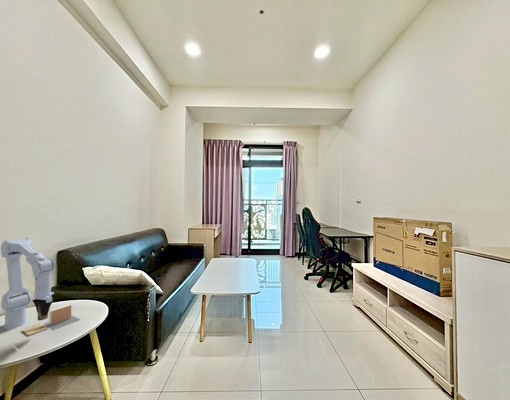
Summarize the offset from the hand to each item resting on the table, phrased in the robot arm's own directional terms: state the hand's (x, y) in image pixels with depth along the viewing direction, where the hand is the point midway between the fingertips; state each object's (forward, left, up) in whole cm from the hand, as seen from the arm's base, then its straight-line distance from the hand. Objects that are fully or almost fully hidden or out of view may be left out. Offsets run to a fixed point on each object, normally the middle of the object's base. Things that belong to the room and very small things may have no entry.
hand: (42, 314), depth 113 cm
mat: (-6, +10, -10) cm, 15 cm away
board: (-8, 0, -10) cm, 13 cm away
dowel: (0, 0, -2) cm, 2 cm away
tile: (-8, +10, -9) cm, 16 cm away
